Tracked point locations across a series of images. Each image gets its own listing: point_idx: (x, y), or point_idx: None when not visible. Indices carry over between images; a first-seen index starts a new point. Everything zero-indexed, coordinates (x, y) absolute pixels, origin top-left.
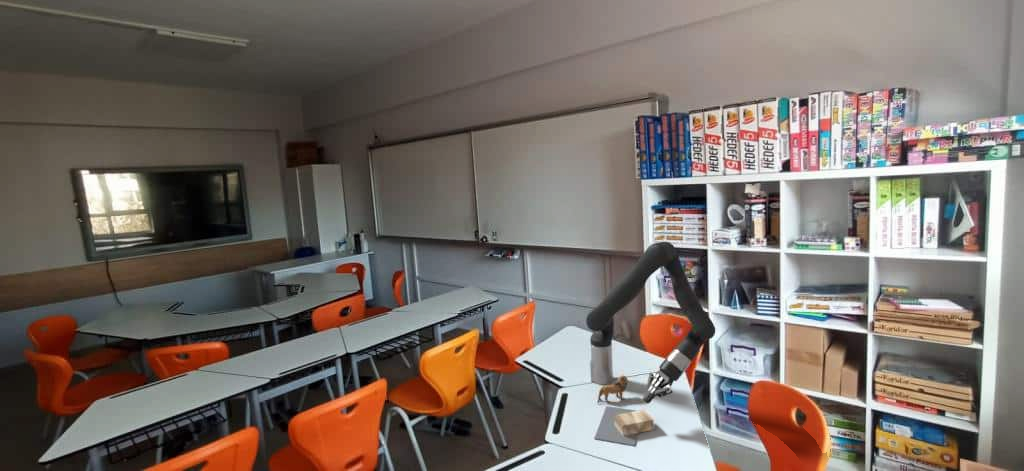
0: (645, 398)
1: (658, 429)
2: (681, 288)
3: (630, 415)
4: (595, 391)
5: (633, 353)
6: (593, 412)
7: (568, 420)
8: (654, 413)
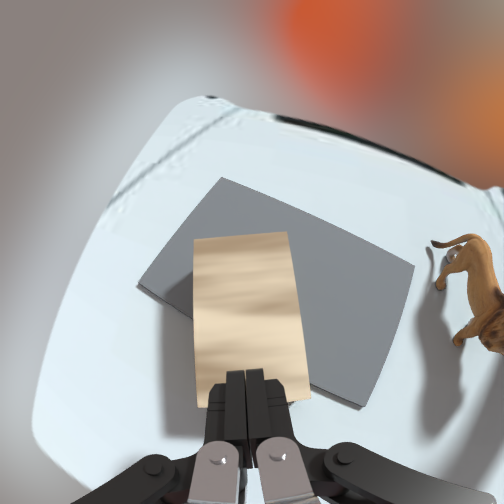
0: (233, 381)
1: None
2: None
3: (267, 303)
4: None
5: None
6: (379, 216)
7: (333, 146)
8: None
